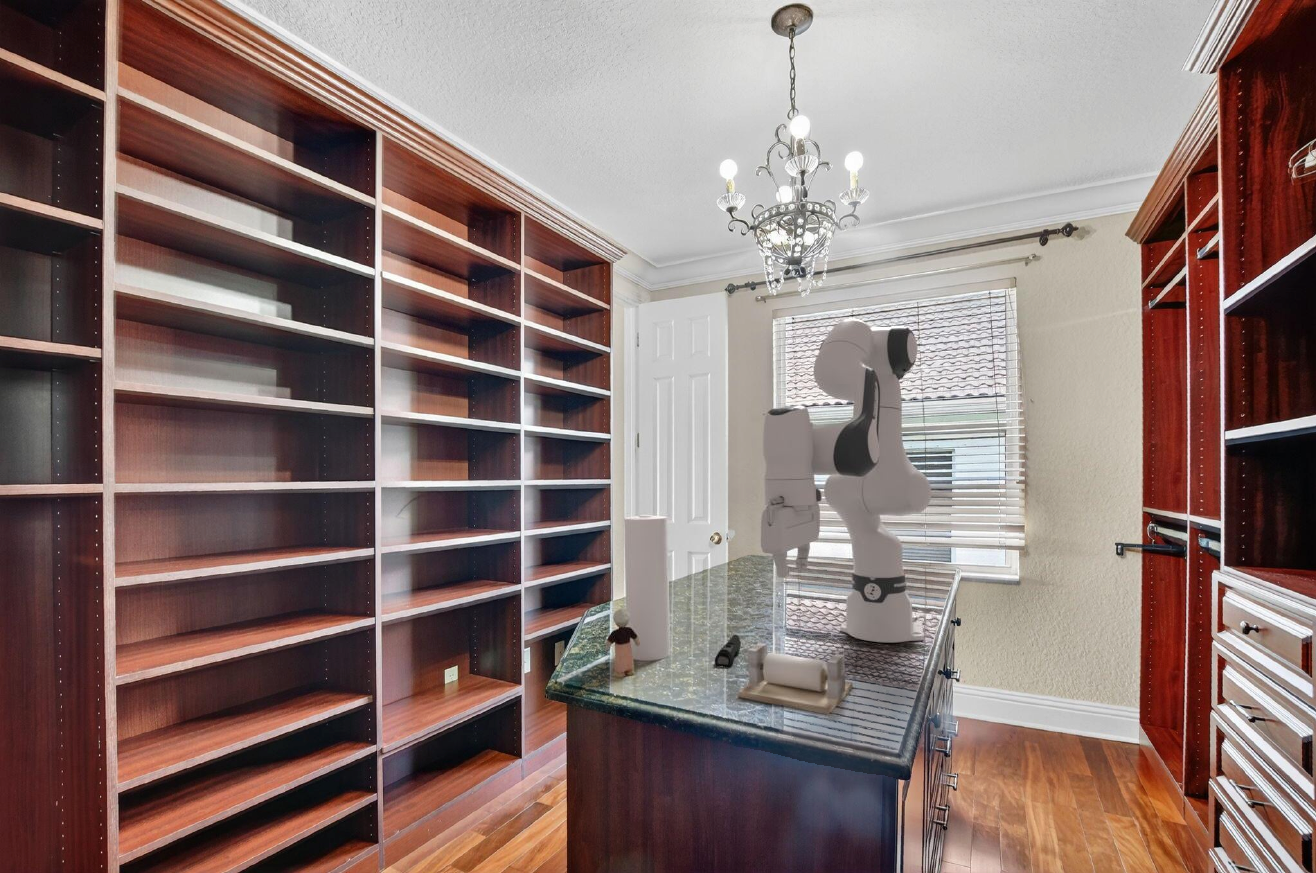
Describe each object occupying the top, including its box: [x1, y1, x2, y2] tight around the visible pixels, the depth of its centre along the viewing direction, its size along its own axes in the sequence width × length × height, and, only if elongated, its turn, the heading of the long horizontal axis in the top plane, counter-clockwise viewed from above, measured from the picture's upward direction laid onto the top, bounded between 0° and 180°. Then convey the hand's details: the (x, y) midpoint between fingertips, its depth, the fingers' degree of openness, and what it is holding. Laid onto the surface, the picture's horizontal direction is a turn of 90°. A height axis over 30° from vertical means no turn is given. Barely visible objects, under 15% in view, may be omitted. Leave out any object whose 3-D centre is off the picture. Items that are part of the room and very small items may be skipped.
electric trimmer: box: [714, 634, 742, 668], centre depth 135 cm, size 4×16×3 cm, turn 163°
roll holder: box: [737, 642, 854, 715], centre depth 113 cm, size 14×16×7 cm
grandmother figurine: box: [604, 608, 640, 678], centre depth 125 cm, size 8×4×13 cm, turn 135°
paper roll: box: [763, 652, 827, 692], centre depth 113 cm, size 11×5×5 cm, turn 58°
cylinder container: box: [623, 514, 671, 662], centre depth 138 cm, size 9×9×30 cm
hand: (793, 572), depth 114 cm, fingers open, 8 cm apart
